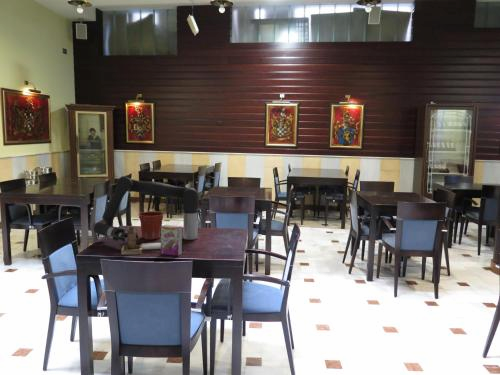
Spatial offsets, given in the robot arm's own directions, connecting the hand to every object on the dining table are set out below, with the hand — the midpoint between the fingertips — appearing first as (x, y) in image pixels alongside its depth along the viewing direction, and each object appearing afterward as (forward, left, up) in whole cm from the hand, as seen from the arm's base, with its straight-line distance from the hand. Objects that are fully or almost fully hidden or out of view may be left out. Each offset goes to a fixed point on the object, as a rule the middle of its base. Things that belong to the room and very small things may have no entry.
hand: (131, 238), depth 243 cm
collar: (+1, 0, -8) cm, 8 cm away
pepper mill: (+1, 0, -8) cm, 8 cm away
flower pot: (-32, +11, -8) cm, 35 cm away
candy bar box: (+10, +22, -8) cm, 26 cm away
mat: (-9, +11, -8) cm, 17 cm away
